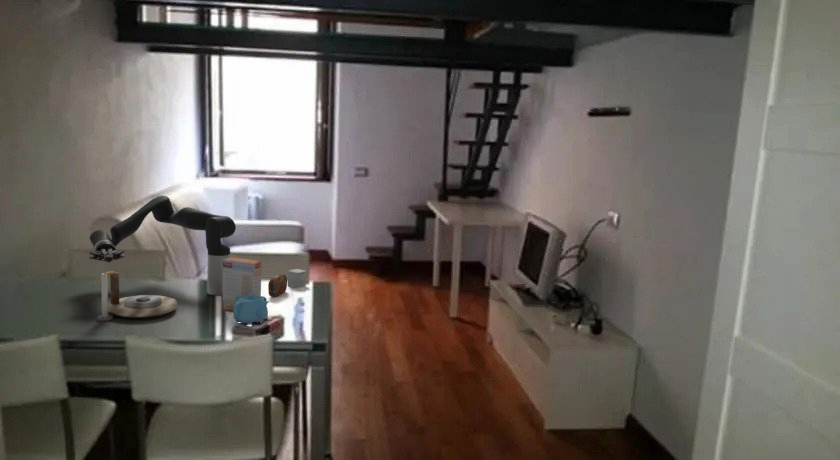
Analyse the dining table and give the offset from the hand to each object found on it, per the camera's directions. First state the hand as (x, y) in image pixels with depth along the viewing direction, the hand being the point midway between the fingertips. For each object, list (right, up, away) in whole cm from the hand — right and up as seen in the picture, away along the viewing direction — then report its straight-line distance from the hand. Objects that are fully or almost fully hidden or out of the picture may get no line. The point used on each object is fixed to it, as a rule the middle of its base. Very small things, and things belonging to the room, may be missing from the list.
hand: (108, 259), depth 245 cm
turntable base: (+13, -20, 0) cm, 24 cm away
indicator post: (+4, -21, -11) cm, 25 cm away
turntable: (+13, -18, -1) cm, 23 cm away
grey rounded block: (+62, -15, +51) cm, 82 cm away
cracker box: (+49, -21, +8) cm, 54 cm away
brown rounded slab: (+57, -17, +35) cm, 69 cm away
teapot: (+56, -24, -5) cm, 61 cm away
